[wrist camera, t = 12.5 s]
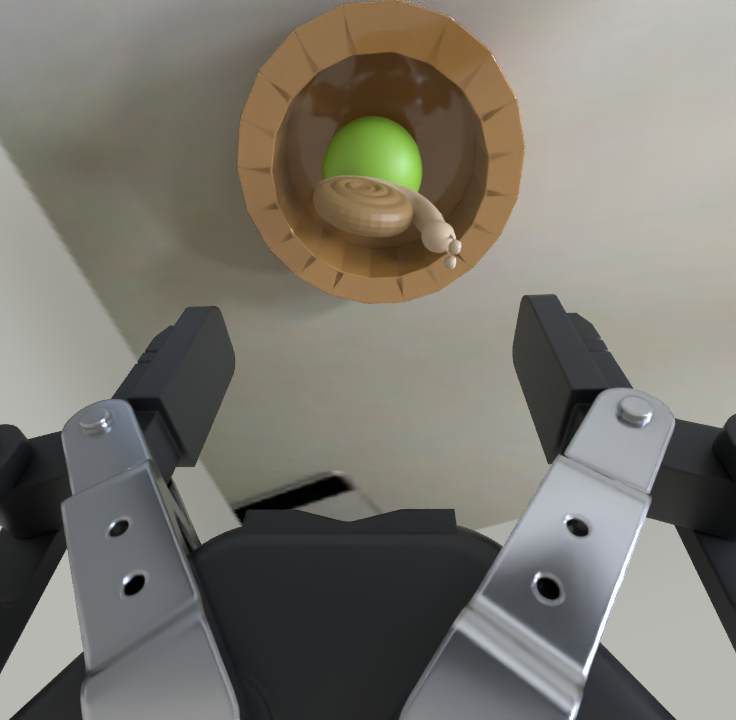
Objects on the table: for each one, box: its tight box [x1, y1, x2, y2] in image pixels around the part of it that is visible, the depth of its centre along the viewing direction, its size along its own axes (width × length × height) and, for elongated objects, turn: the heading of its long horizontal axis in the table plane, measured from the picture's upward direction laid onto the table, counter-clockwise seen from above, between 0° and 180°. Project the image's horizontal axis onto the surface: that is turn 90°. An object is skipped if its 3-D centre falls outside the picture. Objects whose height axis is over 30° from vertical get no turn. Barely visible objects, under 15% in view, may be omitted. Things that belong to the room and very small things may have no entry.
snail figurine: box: [313, 116, 462, 270], centre depth 21 cm, size 5×6×12 cm
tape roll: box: [237, 0, 525, 304], centre depth 25 cm, size 15×15×4 cm
